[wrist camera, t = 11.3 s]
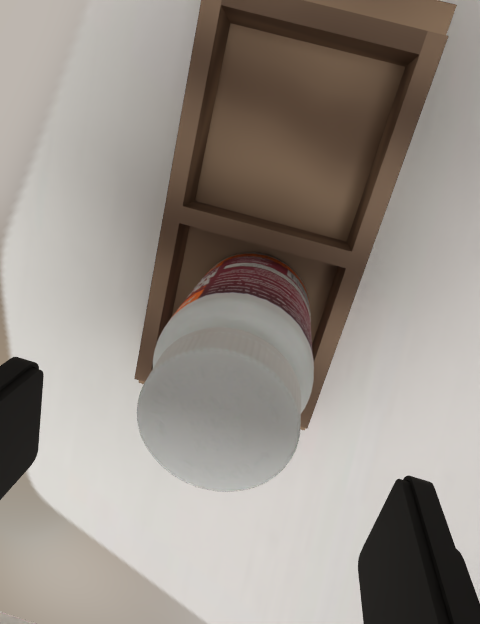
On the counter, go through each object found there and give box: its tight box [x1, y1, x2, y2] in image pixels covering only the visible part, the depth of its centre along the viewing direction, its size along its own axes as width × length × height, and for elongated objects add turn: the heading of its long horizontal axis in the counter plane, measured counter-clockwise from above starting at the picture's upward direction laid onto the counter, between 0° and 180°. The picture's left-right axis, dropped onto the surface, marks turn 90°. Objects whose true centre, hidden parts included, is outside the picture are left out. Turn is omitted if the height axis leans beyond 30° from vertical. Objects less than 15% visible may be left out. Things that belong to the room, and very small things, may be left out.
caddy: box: [135, 0, 457, 430], centre depth 22 cm, size 22×10×4 cm, turn 166°
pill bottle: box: [137, 252, 314, 492], centre depth 19 cm, size 6×6×11 cm
